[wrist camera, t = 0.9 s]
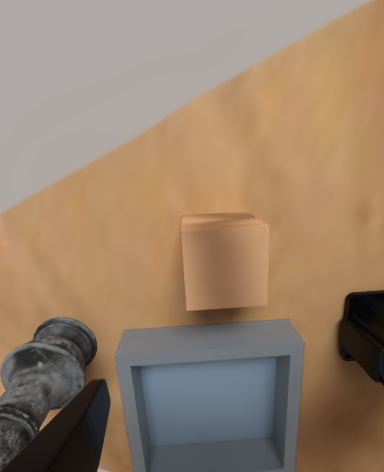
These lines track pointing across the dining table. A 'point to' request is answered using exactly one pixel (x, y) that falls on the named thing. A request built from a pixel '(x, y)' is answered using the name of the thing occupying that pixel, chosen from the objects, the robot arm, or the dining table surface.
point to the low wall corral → (212, 396)
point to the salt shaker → (41, 380)
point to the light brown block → (225, 260)
